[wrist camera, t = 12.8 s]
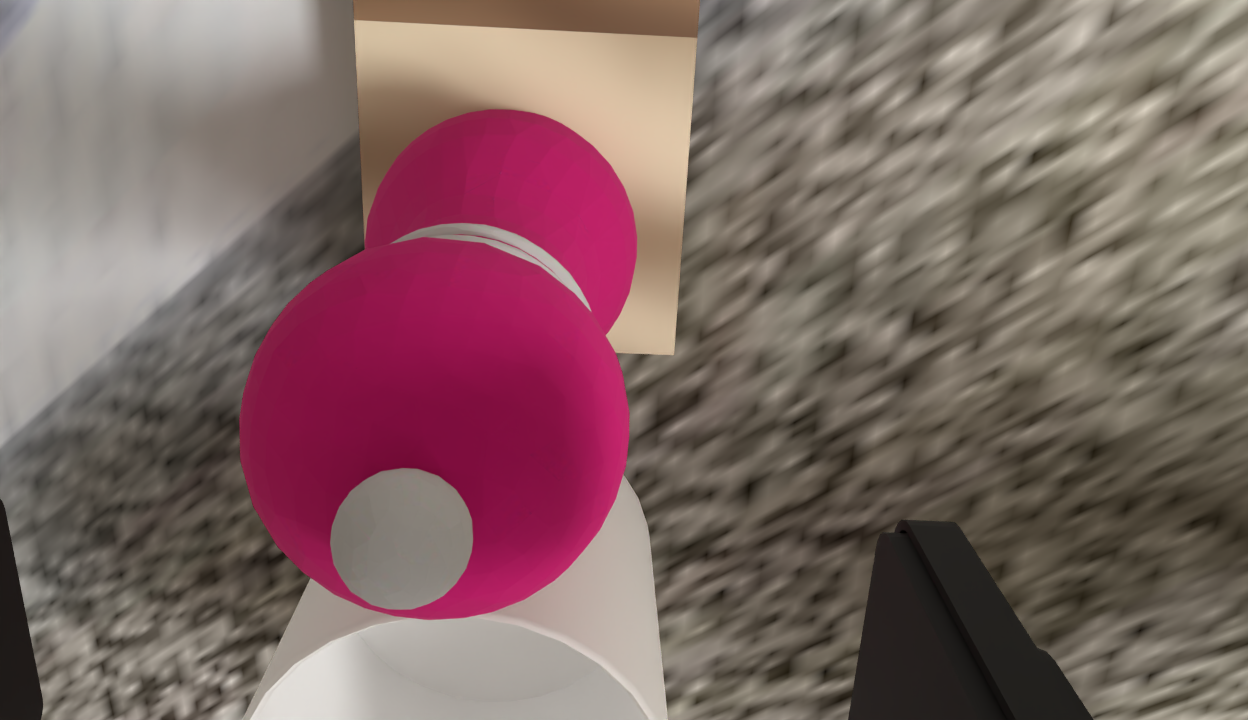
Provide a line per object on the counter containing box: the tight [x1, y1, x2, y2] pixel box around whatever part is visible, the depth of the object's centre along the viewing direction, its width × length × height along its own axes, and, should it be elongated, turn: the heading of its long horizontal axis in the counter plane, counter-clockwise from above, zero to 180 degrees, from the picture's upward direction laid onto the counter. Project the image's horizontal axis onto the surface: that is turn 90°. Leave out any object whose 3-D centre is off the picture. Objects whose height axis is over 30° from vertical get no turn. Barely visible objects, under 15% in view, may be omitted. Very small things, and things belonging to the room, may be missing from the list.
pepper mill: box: [239, 109, 637, 620], centre depth 21 cm, size 7×7×20 cm
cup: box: [243, 474, 668, 720], centre depth 31 cm, size 12×12×12 cm
